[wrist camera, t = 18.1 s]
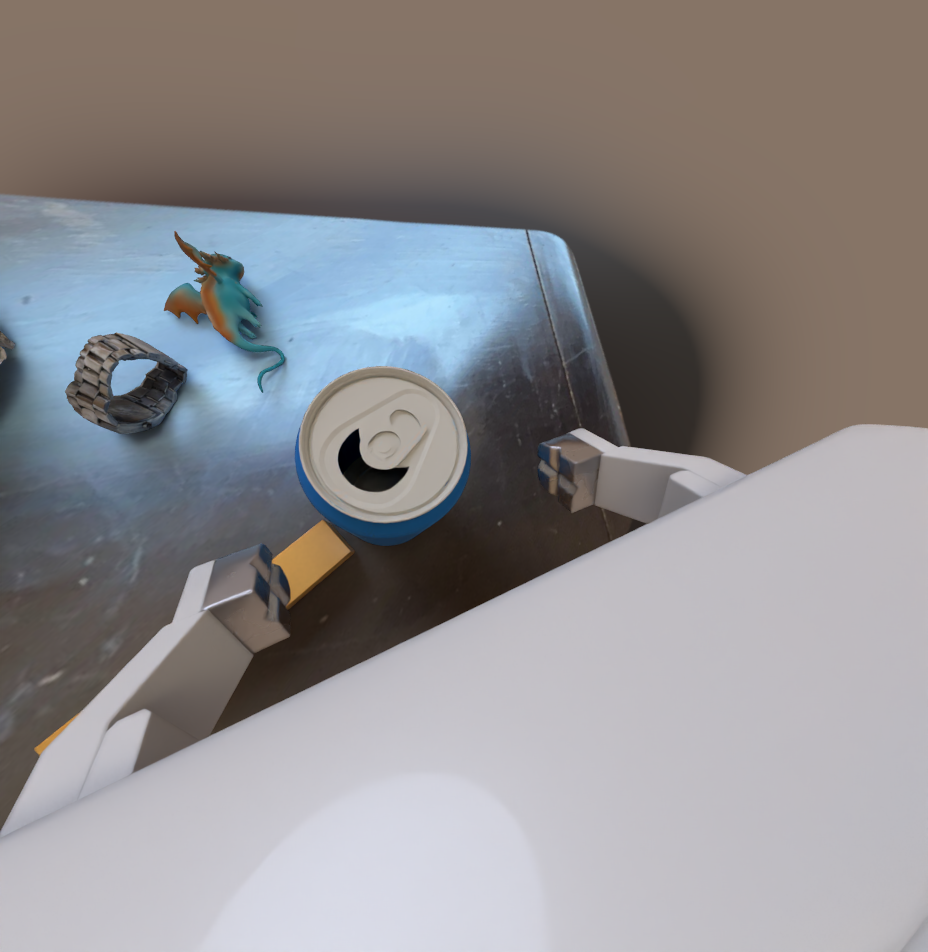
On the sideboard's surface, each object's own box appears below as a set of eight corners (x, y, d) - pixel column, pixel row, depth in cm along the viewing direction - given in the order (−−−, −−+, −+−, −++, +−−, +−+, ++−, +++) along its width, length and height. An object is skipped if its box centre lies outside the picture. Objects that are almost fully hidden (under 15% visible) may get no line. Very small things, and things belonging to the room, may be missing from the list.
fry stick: (330, 523, 21) (322, 519, 19) (355, 551, 21) (351, 551, 19) (83, 721, 17) (33, 749, 14) (114, 759, 17) (69, 793, 14)
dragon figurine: (340, 311, 24) (230, 208, 20) (278, 365, 19) (125, 243, 16) (306, 361, 28) (211, 282, 25) (250, 415, 24) (124, 327, 20)
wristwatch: (149, 397, 22) (58, 416, 18) (165, 329, 20) (67, 331, 16) (192, 424, 23) (114, 449, 18) (212, 360, 21) (130, 370, 16)
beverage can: (316, 506, 22) (235, 452, 10) (381, 435, 24) (373, 322, 12) (396, 566, 22) (404, 578, 10) (453, 490, 24) (512, 430, 12)
